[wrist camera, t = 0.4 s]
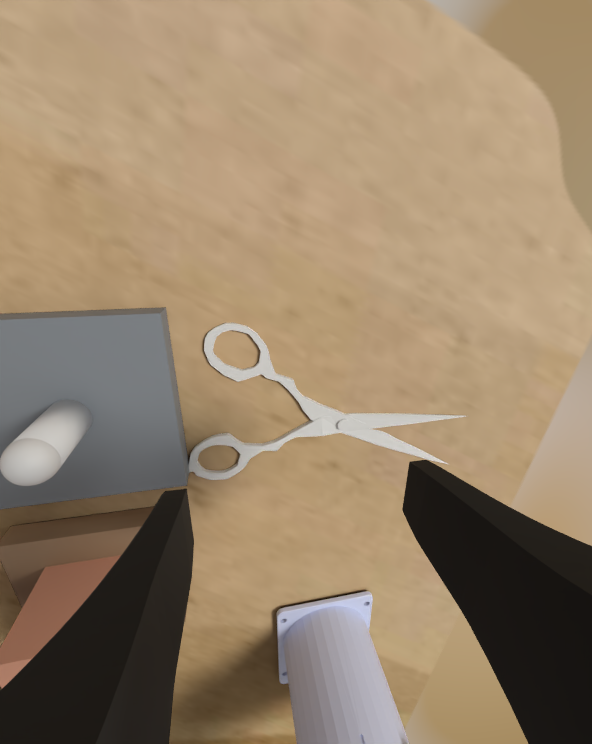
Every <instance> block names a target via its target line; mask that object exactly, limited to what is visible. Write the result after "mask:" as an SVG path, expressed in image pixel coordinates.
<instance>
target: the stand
mask: <svg viewBox="0 0 592 744" xmlns="http://www.w3.org/2000/svg"><path fill="white" fill-rule="evenodd" d="M153 508H154V507H148V508H140V509H133V510H126V511H118V512H111V513H104V514H96V515H89V516H82V517H74V518H67V519H60V520H52V521H45V522H38V523H30V524H23V525H16V526H10V528H9V529H8V530H7V532H6V533H5V534H4V536H3V537H2V538H1V540H0V560H1V563H2V565H3V567H4V569H5V572H6V574H7V576H8V578H9V580H10V583H11V585H12V587H13V589H14V591H15V594H16V596H17V598H18V600H19V602H20V605H21V607H22V608H23V606H24V604H25V602H26V601H27V599H28V597H29V595H30V593H31V592H32V590H33V588H34V586H35V584H36V583H37V581H38V579H39V577H40V575H41V574H42V572H43V570H44V568H45V567H49V566H55V565H62V564H68V563H74V562H81V561H87V560H93V559H100V558H106V557H112V556H119V555H122V554H123V552H124V551H125V549H126V548H127V547H128V545H129V544H130V542H131V541H132V540H133V538H134V537H135V535H136V534H137V533H138V531H139V530H140V528H141V527H142V525H143V524H144V522H145V521H146V519H147V518H148V516H149V515H150V513H151V511H152V510H153ZM186 609H187V608H186ZM185 618H186V614H185ZM184 622H185V620H184Z"/></svg>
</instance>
